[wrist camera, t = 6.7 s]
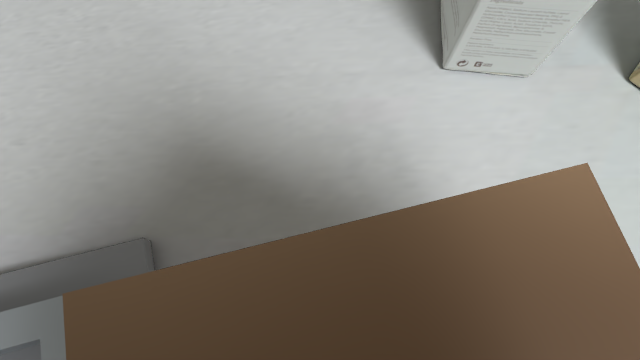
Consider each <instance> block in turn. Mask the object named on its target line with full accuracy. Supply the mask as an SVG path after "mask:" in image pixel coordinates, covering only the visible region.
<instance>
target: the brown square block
mask: <svg viewBox="0 0 640 360" xmlns="http://www.w3.org/2000/svg"><path fill="white" fill-rule="evenodd" d="M62 296H63V313H64V331H65V348H66V360H640V268H639V266H638V264H637V262H636V260H635V258H634V256H633V254H632V252H631V250H630V248H629V246H628V244H627V242H626V240H625V238H624V236H623V234H622V232H621V230H620V228H619V226H618V224H617V222H616V220H615V218H614V216H613V214H612V212H611V210H610V208H609V206H608V204H607V202H606V200H605V198H604V196H603V194H602V192H601V190H600V187H599V185H598V183H597V181H596V179H595V177H594V175H593V173H592V171H591V169H590V167H589V165H588V163H585V164H581V165H577V166H573V167H569V168H565V169H561V170H557V171H553V172H549V173H545V174H541V175H537V176H533V177H529V178H525V179H521V180H517V181H513V182H509V183H505V184H501V185H497V186H493V187H489V188H485V189H481V190H477V191H473V192H469V193H465V194H461V195H457V196H453V197H449V198H445V199H441V200H437V201H433V202H428V203H424V204H420V205H416V206H412V207H408V208H404V209H400V210H396V211H392V212H388V213H384V214H380V215H376V216H372V217H368V218H364V219H360V220H356V221H352V222H348V223H344V224H340V225H336V226H332V227H328V228H324V229H320V230H316V231H312V232H308V233H304V234H300V235H296V236H292V237H288V238H284V239H280V240H276V241H272V242H268V243H264V244H260V245H256V246H252V247H248V248H244V249H240V250H236V251H232V252H228V253H224V254H220V255H216V256H212V257H208V258H204V259H200V260H196V261H192V262H188V263H184V264H180V265H176V266H172V267H168V268H164V269H160V270H156V271H152V272H148V273H144V274H140V275H136V276H132V277H128V278H123V279H119V280H115V281H111V282H107V283H103V284H99V285H95V286H91V287H87V288H83V289H79V290H75V291H71V292H67V293H63V294H62Z"/></svg>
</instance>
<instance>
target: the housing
mask: <svg viewBox="0 0 640 360" xmlns="http://www.w3.org/2000/svg"><path fill="white" fill-rule="evenodd" d="M152 271H155V268H154V261H153V255H152V248H151V241H150V240H147V239H145V238H141V239H137V240H133V241H129V242H125V243H121V244H117V245H113V246H109V247H105V248H101V249H97V250H94V251H90V252H86V253H82V254H78V255H74V256H70V257H66V258H62V259H58V260H54V261H51V262H47V263H43V264H39V265H35V266H31V267H27V268H23V269H19V270H15V271H11V272H7V273H4V274H0V360H66V348H65V331H64V313H63V296H62V294H63V293H67V292H71V291H75V290H79V289H83V288H87V287H91V286H95V285H99V284H103V283H107V282H111V281H115V280H119V279H123V278H128V277H132V276H136V275H140V274H144V273H148V272H152Z"/></svg>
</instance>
